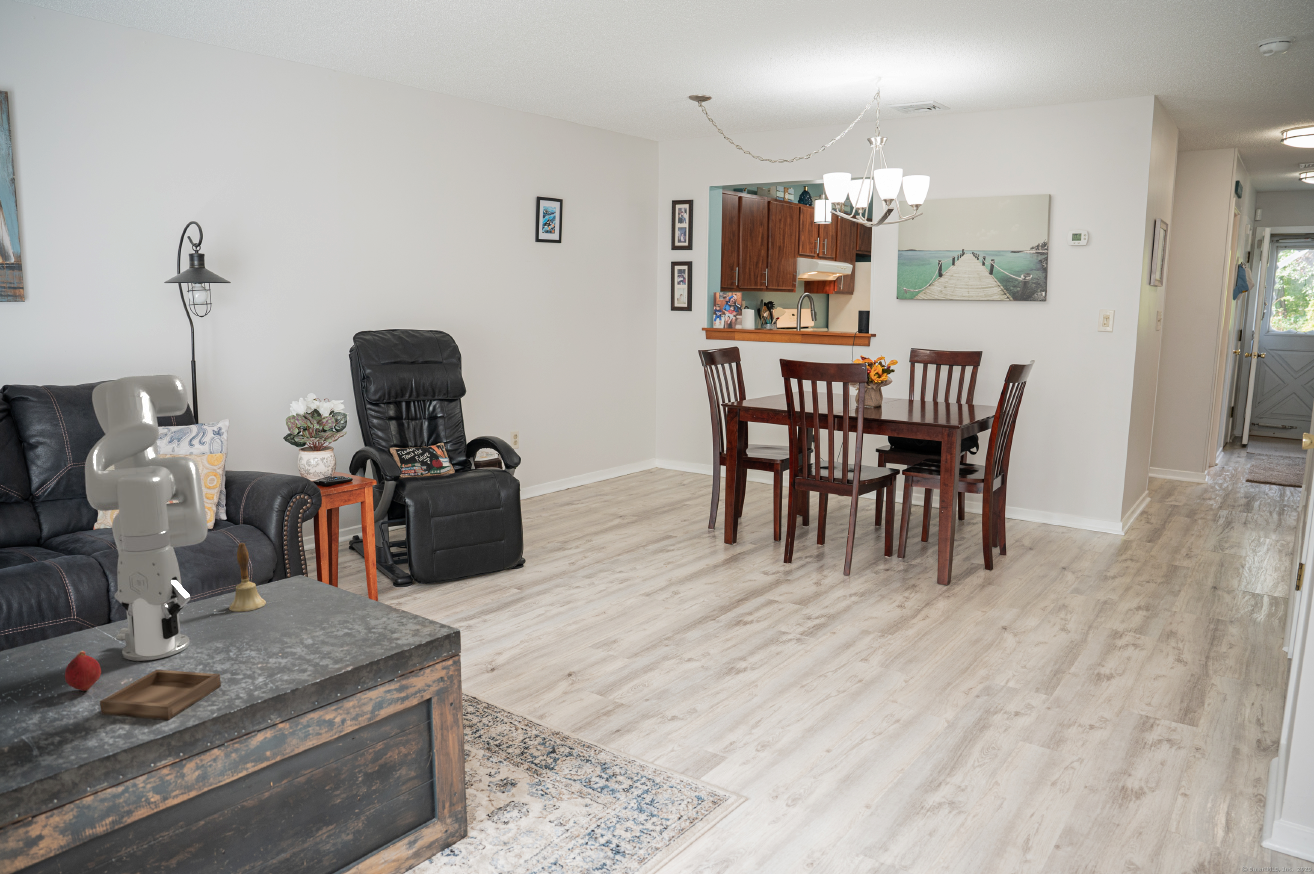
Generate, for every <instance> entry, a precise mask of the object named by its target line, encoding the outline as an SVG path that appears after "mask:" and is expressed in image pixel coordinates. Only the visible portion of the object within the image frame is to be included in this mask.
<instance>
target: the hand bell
mask: <svg viewBox="0 0 1314 874" xmlns="http://www.w3.org/2000/svg"><path fill="white" fill-rule="evenodd" d="M249 559H250V557H249V551H248V548H247V546H246V543H245V542H239V543H238V547H237V551H236V560H237V563H238V565H239V568H240V569H239V570H240V580H241V581H240V583H239V584H237V585H236V586H235V595H234V599H233V601H232V603H231V604H230V605H229V607H228V609H229V611H231V612H236V613H242V612H243V613H245V612H250V611H255V610H258V609H262V608H263V607H265V605H266V604H267V602H266V600H265V599H263V598H262V597H261V595H260V594H259V592H258V590H257V585H256V583H255V582H251V581H250V578H249V570H248V566H249V561H250V560H249Z"/></svg>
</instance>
